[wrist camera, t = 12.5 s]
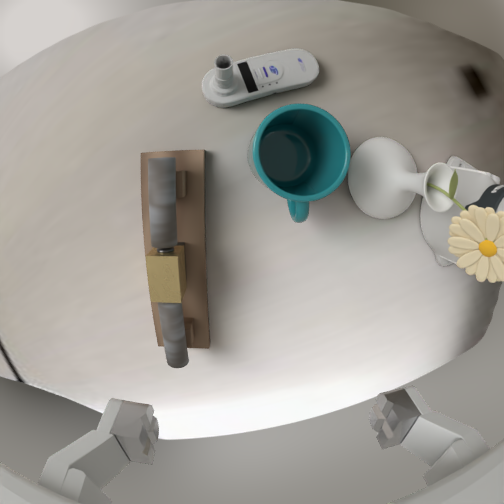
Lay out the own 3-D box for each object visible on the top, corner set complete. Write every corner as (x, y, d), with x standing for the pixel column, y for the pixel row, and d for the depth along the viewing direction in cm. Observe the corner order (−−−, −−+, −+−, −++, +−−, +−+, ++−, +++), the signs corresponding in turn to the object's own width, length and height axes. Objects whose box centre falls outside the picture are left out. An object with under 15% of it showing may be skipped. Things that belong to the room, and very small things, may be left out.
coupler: (183, 243, 32) (177, 253, 28) (186, 290, 34) (181, 305, 30) (155, 243, 32) (145, 253, 28) (159, 289, 34) (151, 304, 30)
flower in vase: (333, 145, 33) (481, 131, 10) (400, 132, 33) (546, 127, 9) (354, 237, 37) (480, 330, 14) (416, 216, 37) (547, 274, 13)
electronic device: (348, 60, 22) (204, 93, 22) (319, 85, 31) (210, 114, 31) (328, 21, 20) (188, 50, 20) (305, 52, 30) (198, 79, 30)
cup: (254, 217, 36) (263, 240, 25) (243, 125, 32) (246, 106, 21) (321, 209, 36) (356, 228, 25) (312, 120, 32) (345, 102, 21)
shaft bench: (205, 150, 33) (197, 146, 26) (210, 342, 41) (206, 374, 34) (144, 153, 32) (122, 151, 25) (160, 340, 41) (149, 371, 33)
